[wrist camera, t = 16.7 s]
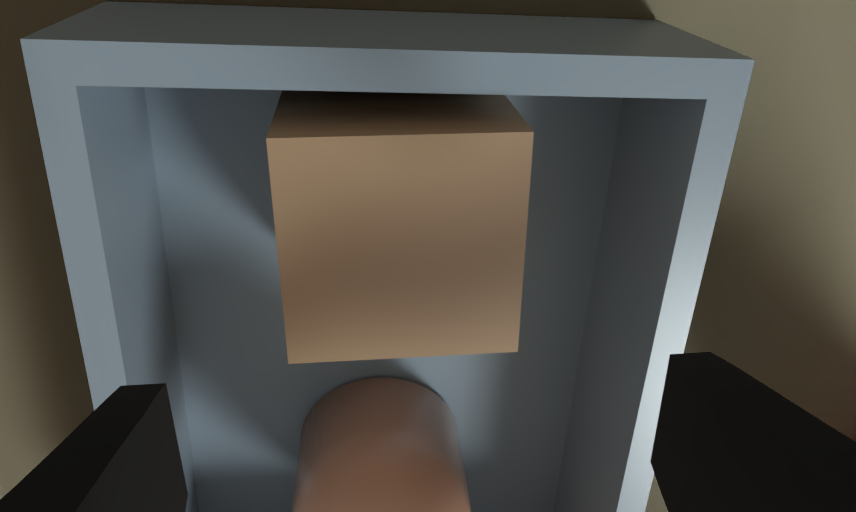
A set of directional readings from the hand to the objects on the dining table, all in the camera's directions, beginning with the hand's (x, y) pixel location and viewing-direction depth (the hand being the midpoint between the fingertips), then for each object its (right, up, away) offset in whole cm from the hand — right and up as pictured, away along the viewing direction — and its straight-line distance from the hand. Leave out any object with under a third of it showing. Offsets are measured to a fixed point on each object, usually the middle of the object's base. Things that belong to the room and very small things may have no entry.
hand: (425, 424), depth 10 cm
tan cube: (-1, +5, +9) cm, 10 cm away
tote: (-1, +1, +11) cm, 11 cm away
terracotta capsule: (-2, -3, +12) cm, 13 cm away
